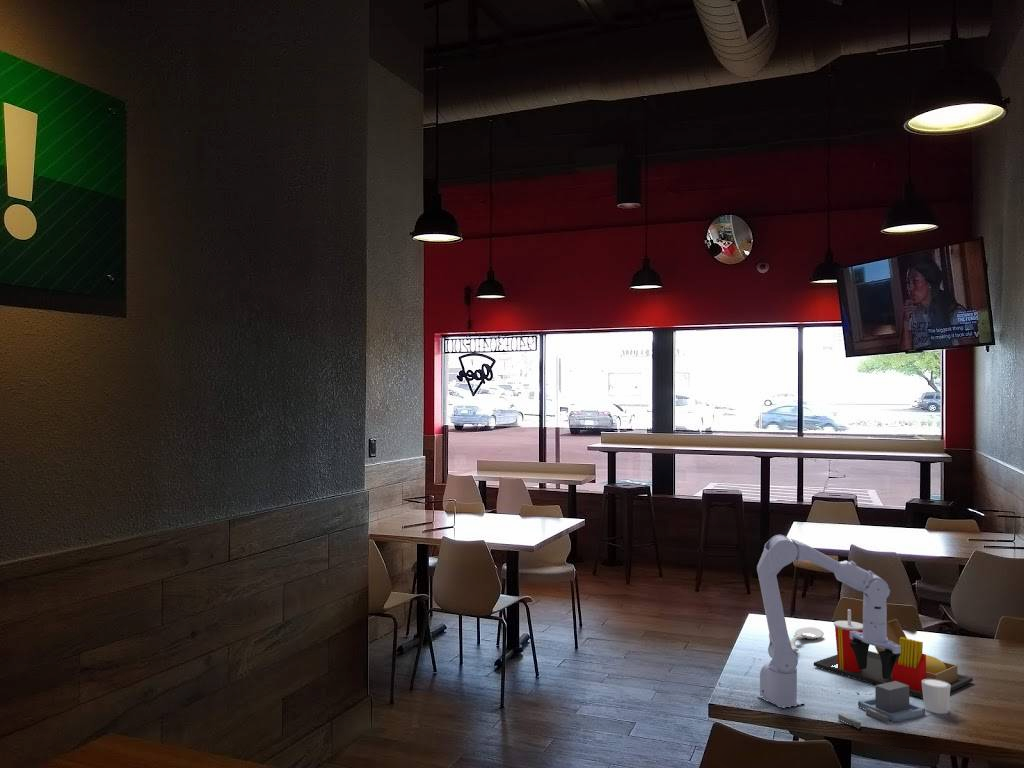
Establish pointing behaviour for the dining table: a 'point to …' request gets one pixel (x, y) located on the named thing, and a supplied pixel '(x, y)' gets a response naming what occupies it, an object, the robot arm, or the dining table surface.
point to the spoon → (805, 630)
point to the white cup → (936, 695)
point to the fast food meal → (906, 668)
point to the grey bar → (892, 697)
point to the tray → (901, 715)
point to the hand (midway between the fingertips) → (874, 673)
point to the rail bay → (868, 711)
